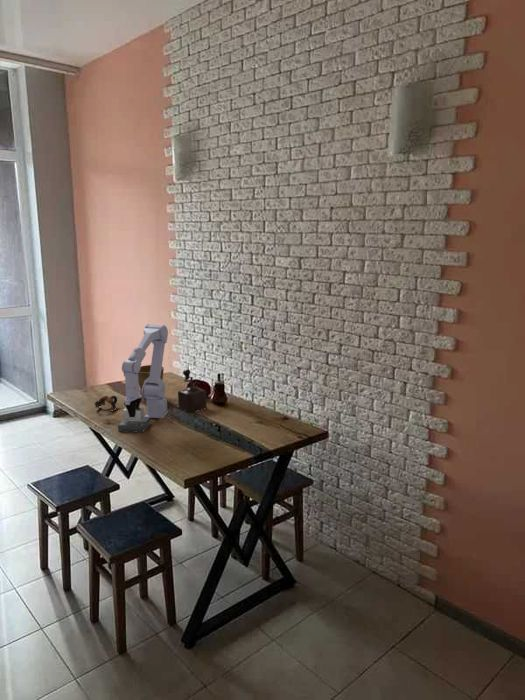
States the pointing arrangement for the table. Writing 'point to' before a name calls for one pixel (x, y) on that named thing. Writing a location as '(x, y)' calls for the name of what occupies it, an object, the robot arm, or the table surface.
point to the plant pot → (146, 375)
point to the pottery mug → (109, 400)
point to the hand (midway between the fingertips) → (133, 415)
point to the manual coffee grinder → (191, 396)
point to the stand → (134, 425)
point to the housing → (138, 414)
